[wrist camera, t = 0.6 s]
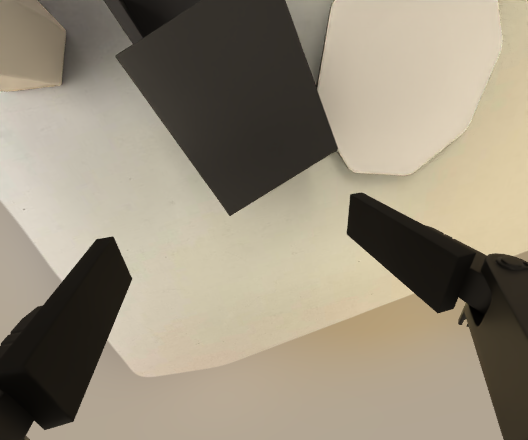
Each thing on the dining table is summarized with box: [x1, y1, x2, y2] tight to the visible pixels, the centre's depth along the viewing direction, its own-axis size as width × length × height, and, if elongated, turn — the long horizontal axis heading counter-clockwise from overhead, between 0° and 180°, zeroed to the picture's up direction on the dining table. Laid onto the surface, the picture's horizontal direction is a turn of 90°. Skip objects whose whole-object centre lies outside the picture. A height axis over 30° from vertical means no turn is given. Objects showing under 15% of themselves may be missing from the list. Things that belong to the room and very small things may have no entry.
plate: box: [317, 0, 503, 176], centre depth 28 cm, size 24×24×2 cm
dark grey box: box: [116, 0, 338, 216], centre depth 22 cm, size 14×12×9 cm
